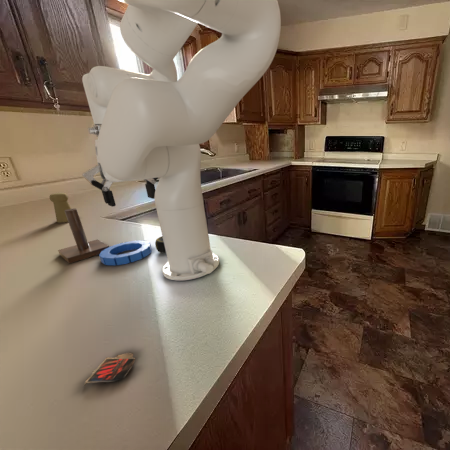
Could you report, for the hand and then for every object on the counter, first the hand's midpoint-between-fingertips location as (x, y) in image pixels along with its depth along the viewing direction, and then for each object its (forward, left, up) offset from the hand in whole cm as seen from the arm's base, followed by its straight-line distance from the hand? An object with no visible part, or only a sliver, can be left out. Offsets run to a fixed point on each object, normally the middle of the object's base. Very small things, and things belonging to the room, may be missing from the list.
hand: (133, 201), depth 65 cm
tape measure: (-7, -4, -14) cm, 17 cm away
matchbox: (-38, +21, -14) cm, 46 cm away
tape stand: (+12, +11, -14) cm, 21 cm away
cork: (+57, +5, -14) cm, 58 cm away
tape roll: (0, +5, -14) cm, 15 cm away
